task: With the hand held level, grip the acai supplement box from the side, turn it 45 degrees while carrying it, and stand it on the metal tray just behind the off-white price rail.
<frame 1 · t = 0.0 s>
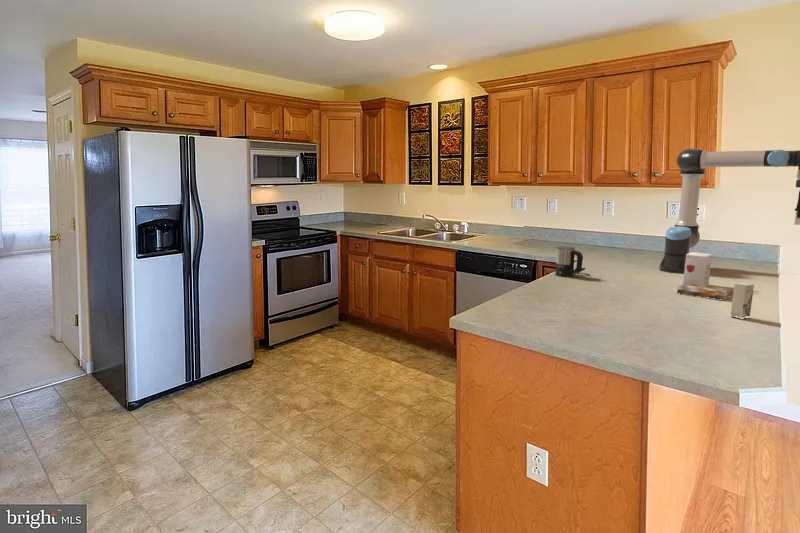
hand: (799, 223, 243), 28 cm above the worktop, tool pointing down, fingers open, 13 cm apart
box: (739, 318, 185), on the worktop
supplement box: (695, 285, 238), on the worktop
milk frother: (569, 274, 263), on the worktop
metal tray: (705, 293, 221), on the worktop
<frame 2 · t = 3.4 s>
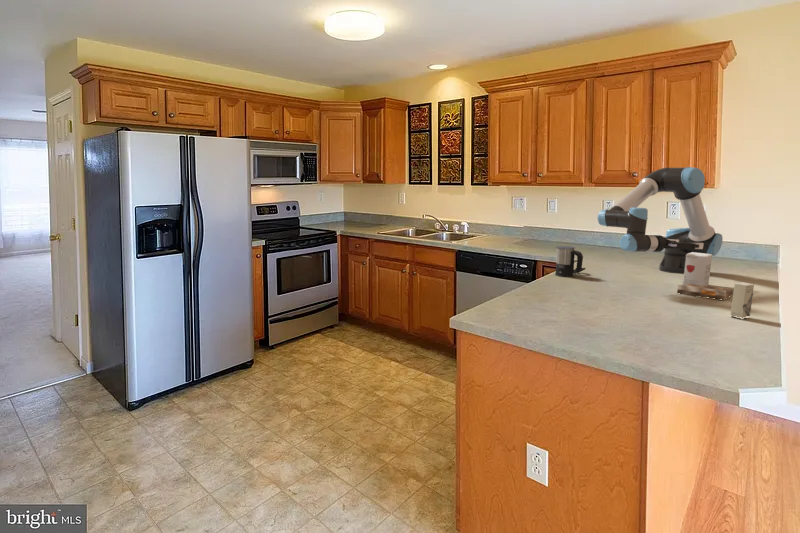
hand: (690, 244, 231), 20 cm above the worktop, tool horizontal, fingers open, 13 cm apart
nothing on the worktop moved.
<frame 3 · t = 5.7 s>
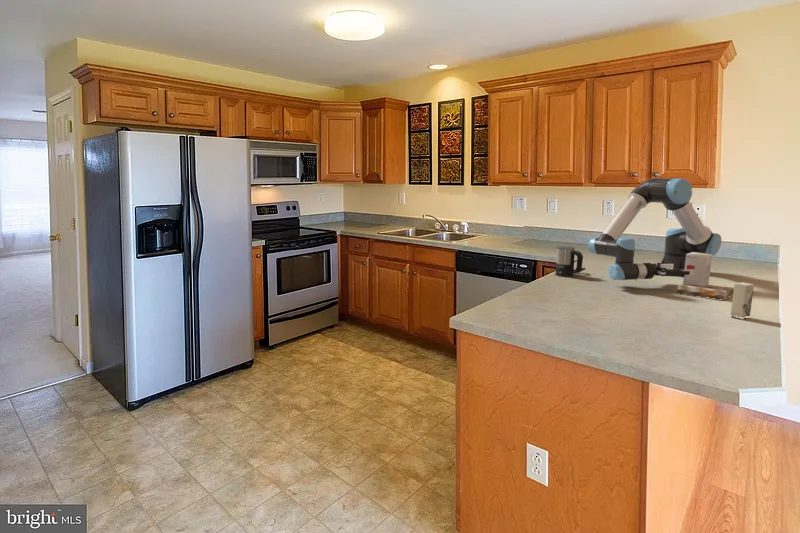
hand: (683, 269, 235), 8 cm above the worktop, tool horizontal, fingers open, 13 cm apart
nothing on the worktop moved.
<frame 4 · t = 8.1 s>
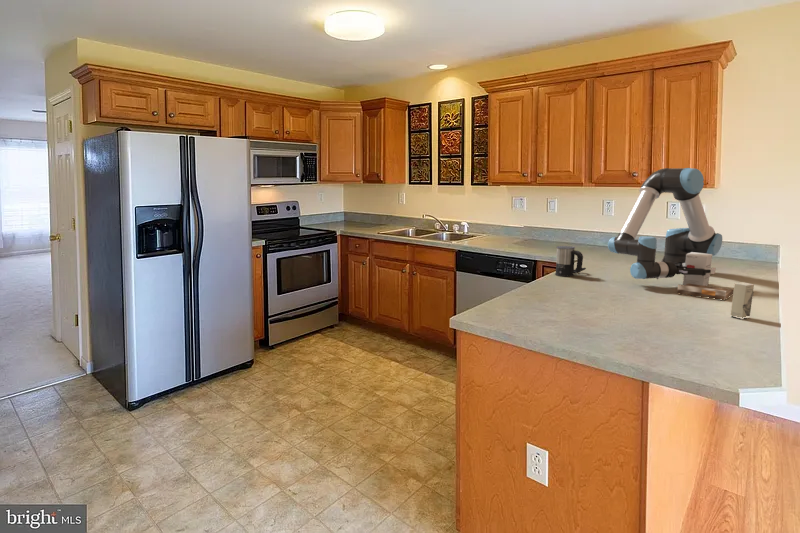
hand: (704, 268, 237), 8 cm above the worktop, tool horizontal, fingers closed on supplement box, 12 cm apart
supplement box: (695, 285, 238), on the worktop, touching gripper
everything else where it was.
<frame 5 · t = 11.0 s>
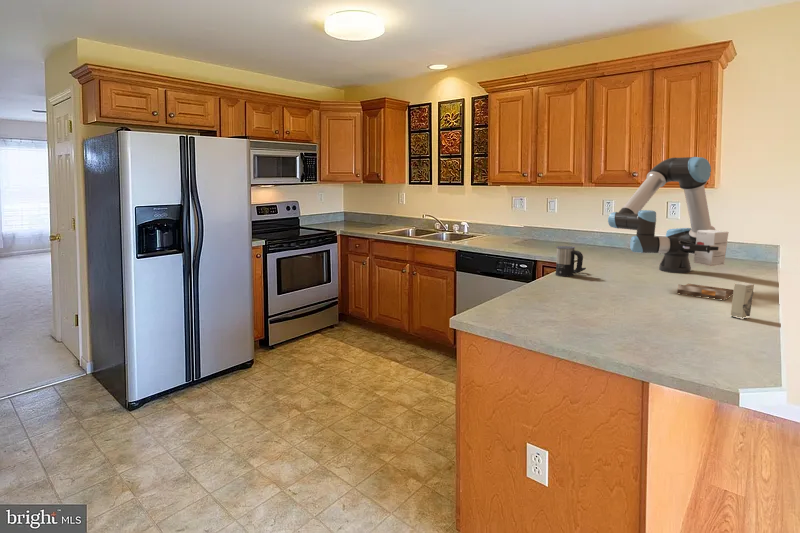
hand: (719, 246, 225), 20 cm above the worktop, tool horizontal, fingers closed on supplement box, 12 cm apart
supplement box: (708, 264, 227), point 12 cm above the worktop, touching gripper
everything else where it was.
when the fingers open (11 cm above the worktop, at t = 14.2 s): supplement box drops 1 cm, resting on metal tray.
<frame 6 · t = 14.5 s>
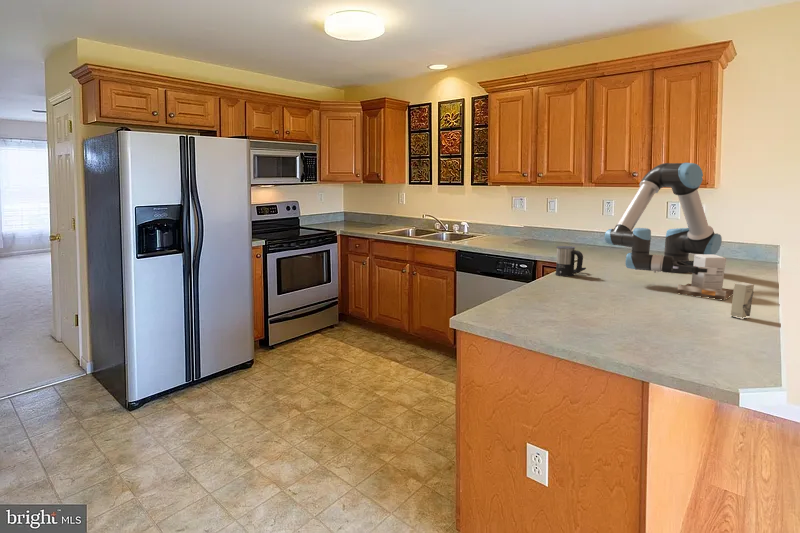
hand: (717, 268, 217), 11 cm above the worktop, tool horizontal, fingers open, 13 cm apart
supplement box: (706, 289, 221), point 2 cm above the worktop, touching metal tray
everything else where it was.
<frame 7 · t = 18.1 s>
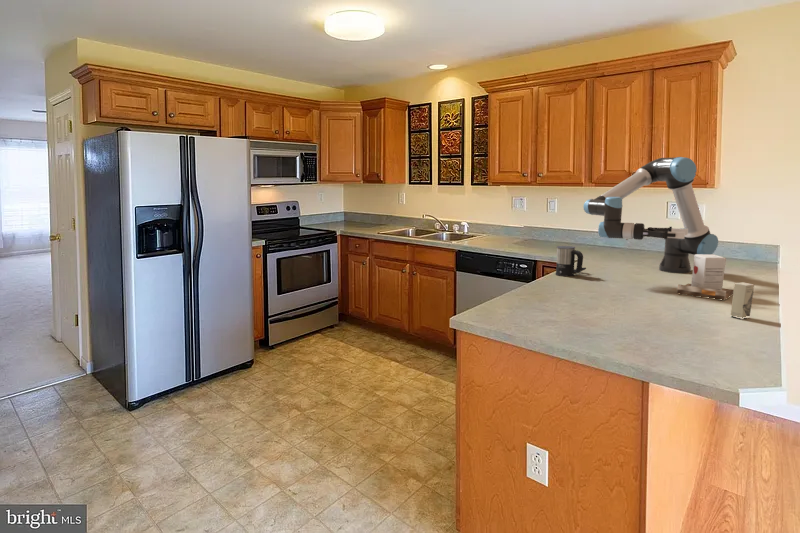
hand: (686, 233, 222), 26 cm above the worktop, tool horizontal, fingers open, 13 cm apart
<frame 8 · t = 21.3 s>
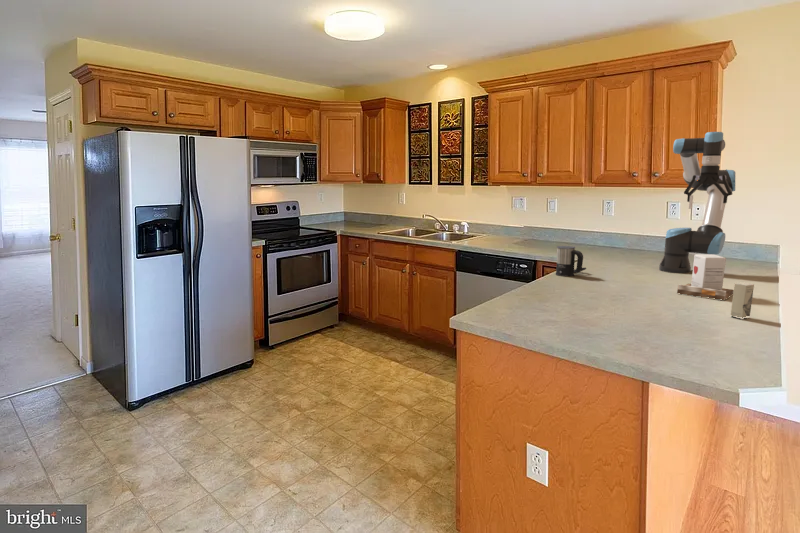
hand: (705, 209, 245), 35 cm above the worktop, tool pointing down, fingers open, 13 cm apart
at the end: supplement box inside the target area on the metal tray (0.1 cm from its centre), point 1.8 cm above the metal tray's base; supplement box tilted 0°; the gripper is holding nothing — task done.
